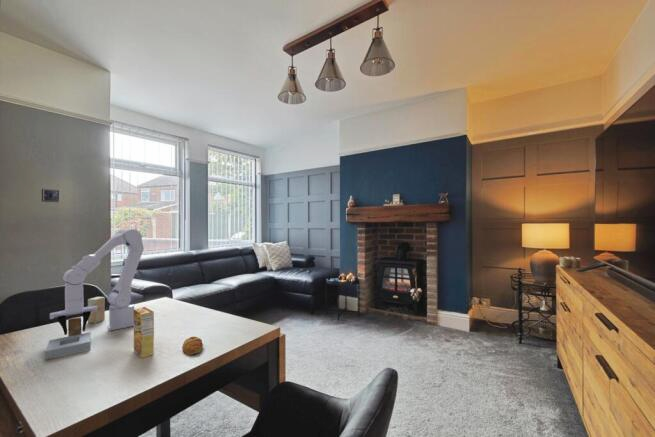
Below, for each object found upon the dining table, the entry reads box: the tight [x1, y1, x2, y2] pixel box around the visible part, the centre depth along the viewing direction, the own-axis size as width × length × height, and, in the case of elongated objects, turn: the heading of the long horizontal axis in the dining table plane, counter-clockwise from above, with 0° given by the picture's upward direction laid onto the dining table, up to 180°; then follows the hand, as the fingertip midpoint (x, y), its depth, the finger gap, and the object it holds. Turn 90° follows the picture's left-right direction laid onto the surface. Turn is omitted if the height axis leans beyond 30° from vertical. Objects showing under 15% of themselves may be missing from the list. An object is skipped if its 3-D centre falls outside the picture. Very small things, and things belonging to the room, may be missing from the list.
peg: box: [67, 316, 82, 337], centre depth 119 cm, size 4×4×8 cm
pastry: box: [181, 336, 204, 356], centre depth 106 cm, size 9×7×4 cm
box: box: [87, 296, 106, 324], centre depth 139 cm, size 5×4×11 cm
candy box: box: [133, 306, 155, 359], centre depth 105 cm, size 9×4×15 cm, turn 50°
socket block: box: [44, 332, 92, 361], centre depth 109 cm, size 12×12×3 cm
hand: (74, 332), depth 119 cm, fingers open, 5 cm apart
